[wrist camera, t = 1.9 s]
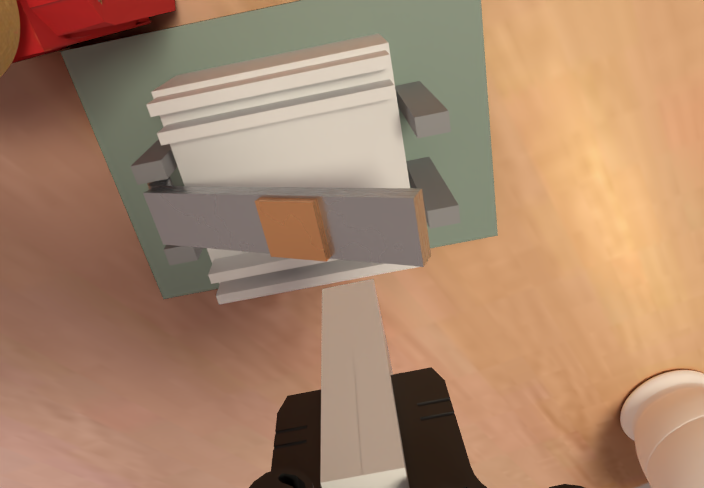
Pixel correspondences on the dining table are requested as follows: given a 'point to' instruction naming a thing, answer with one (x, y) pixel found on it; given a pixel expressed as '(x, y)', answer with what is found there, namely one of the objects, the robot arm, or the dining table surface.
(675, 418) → the jar
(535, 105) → the dining table surface
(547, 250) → the dining table surface
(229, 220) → the strap
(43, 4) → the radio
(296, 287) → the heatsink
